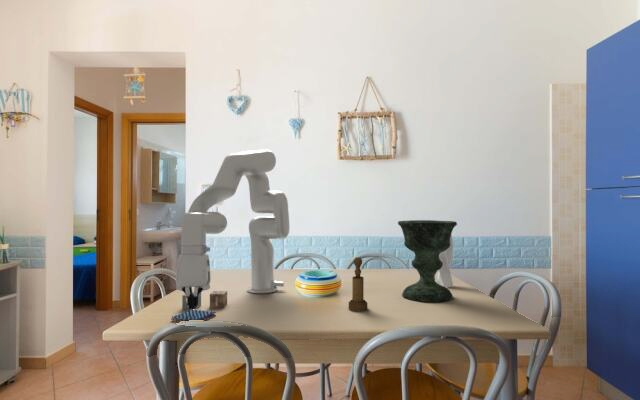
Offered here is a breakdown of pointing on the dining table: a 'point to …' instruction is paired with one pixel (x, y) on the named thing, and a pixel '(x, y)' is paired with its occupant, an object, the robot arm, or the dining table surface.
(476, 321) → the dining table surface
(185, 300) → the charcoal number block
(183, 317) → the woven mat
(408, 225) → the goblet
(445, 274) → the skyscraper
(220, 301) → the walnut number block
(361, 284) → the brown tall piece
